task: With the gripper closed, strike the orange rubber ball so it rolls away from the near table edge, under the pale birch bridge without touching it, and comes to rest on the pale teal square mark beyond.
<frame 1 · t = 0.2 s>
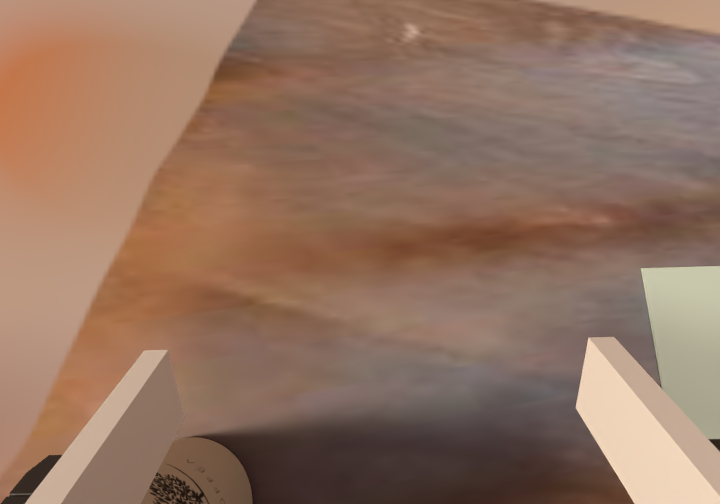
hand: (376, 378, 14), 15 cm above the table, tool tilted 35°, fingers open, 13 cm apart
travel mug: (191, 503, 28), on the table
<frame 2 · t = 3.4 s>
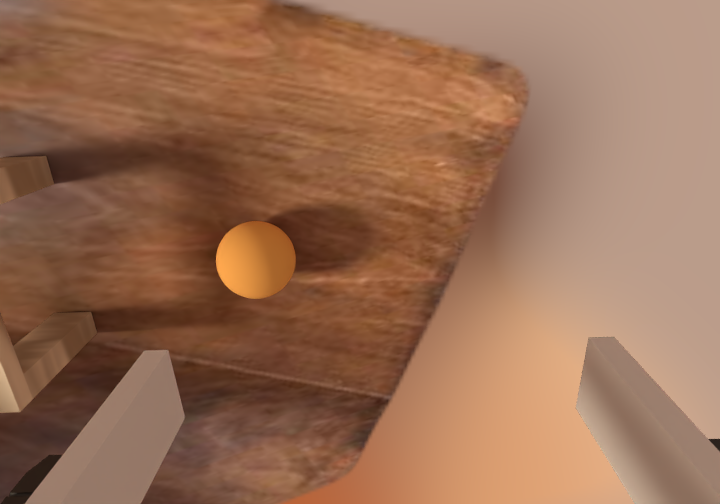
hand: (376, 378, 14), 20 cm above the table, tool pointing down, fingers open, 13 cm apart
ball: (256, 259, 31), on the table
bridge: (54, 252, 34), on the table
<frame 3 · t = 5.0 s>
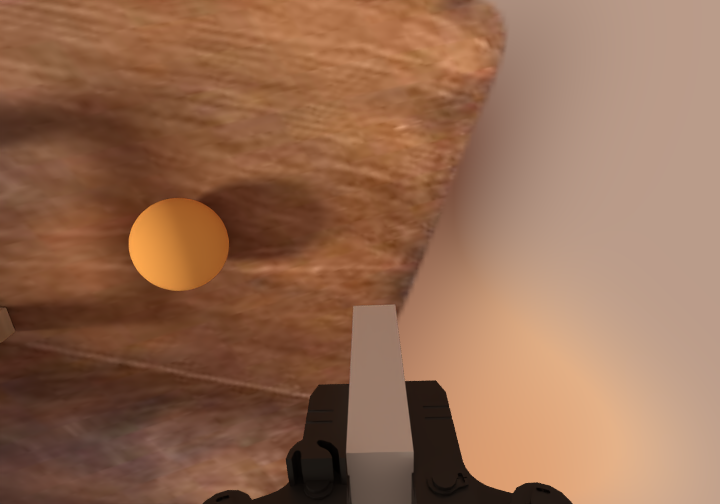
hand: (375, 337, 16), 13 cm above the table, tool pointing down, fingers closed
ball: (180, 244, 26), on the table
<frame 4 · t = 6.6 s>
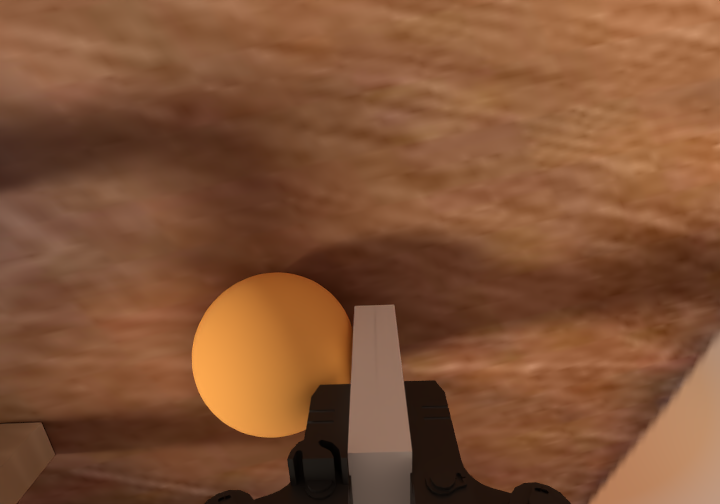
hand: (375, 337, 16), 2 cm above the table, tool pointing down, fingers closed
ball: (276, 351, 15), on the table
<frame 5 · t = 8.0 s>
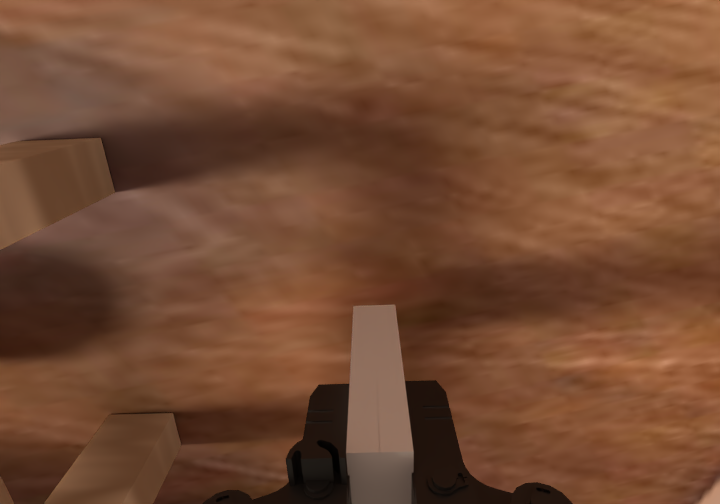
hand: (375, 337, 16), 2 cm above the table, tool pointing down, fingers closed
bridge: (111, 315, 19), on the table
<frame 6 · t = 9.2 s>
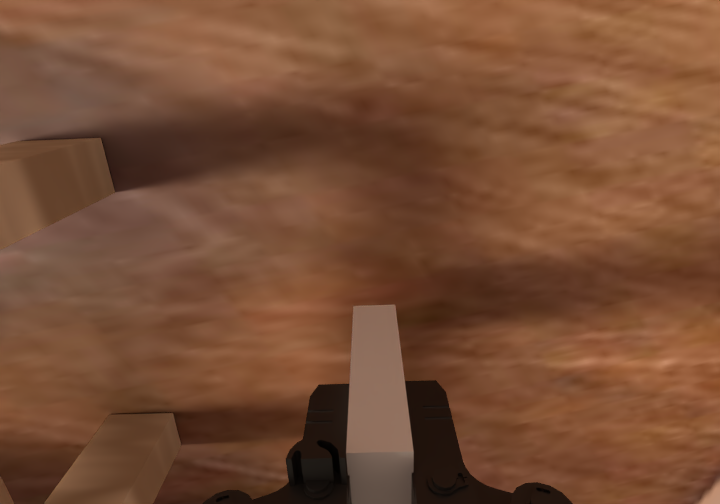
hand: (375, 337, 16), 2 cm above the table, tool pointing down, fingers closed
bridge: (111, 315, 19), on the table
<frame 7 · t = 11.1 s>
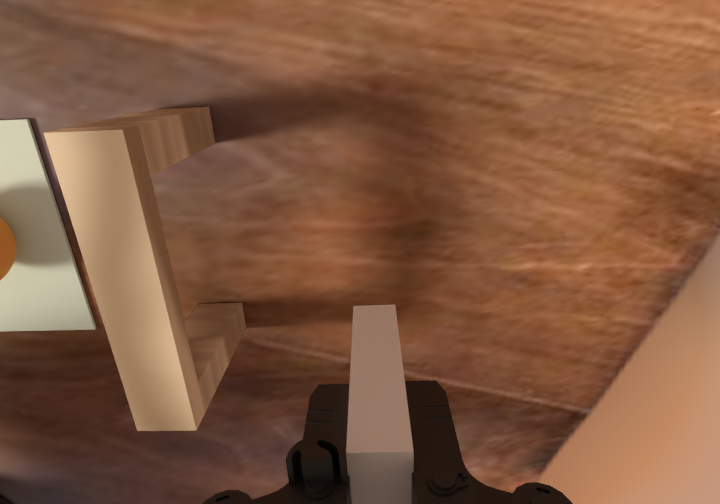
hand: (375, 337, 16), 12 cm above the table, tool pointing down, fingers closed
bridge: (205, 229, 28), on the table
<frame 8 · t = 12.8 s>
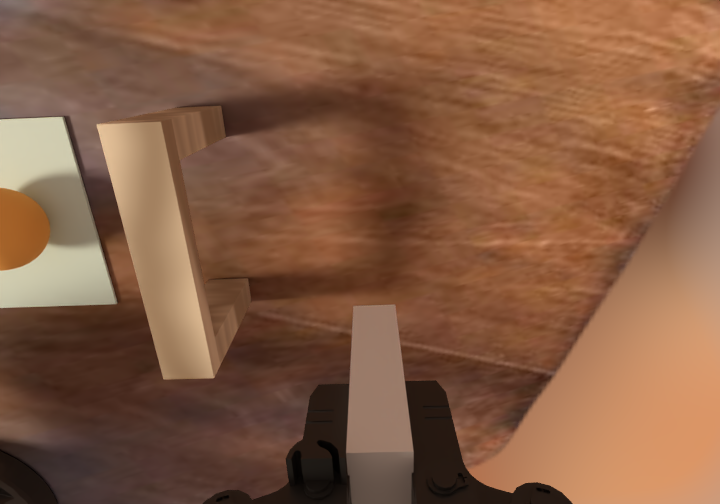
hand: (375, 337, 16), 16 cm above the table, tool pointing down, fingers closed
bridge: (216, 212, 32), on the table
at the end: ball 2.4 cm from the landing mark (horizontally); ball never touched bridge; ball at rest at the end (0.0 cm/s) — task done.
